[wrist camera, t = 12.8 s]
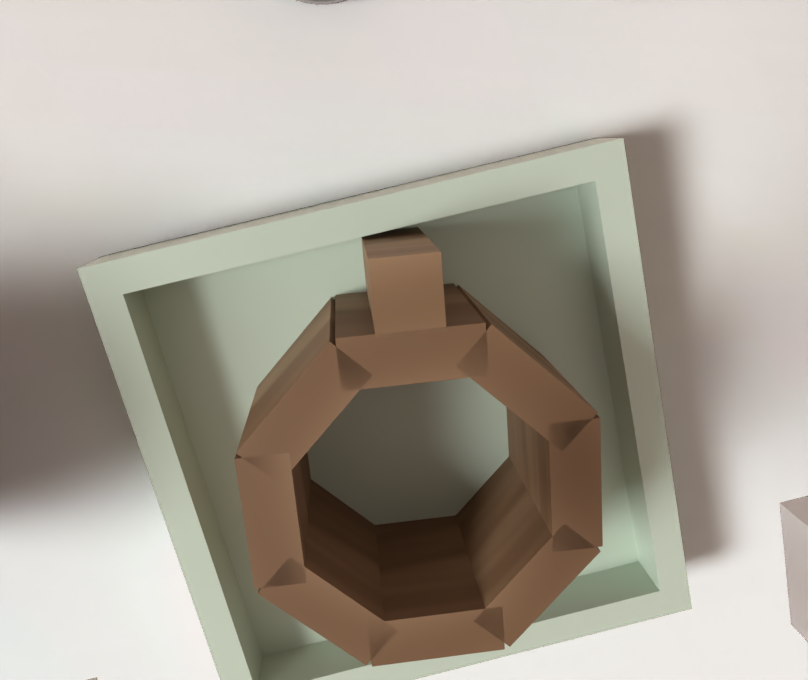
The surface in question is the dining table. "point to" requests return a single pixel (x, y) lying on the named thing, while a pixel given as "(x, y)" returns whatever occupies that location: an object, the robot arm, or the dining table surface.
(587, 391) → the tray
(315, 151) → the dining table surface
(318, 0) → the door handle
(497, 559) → the ring
